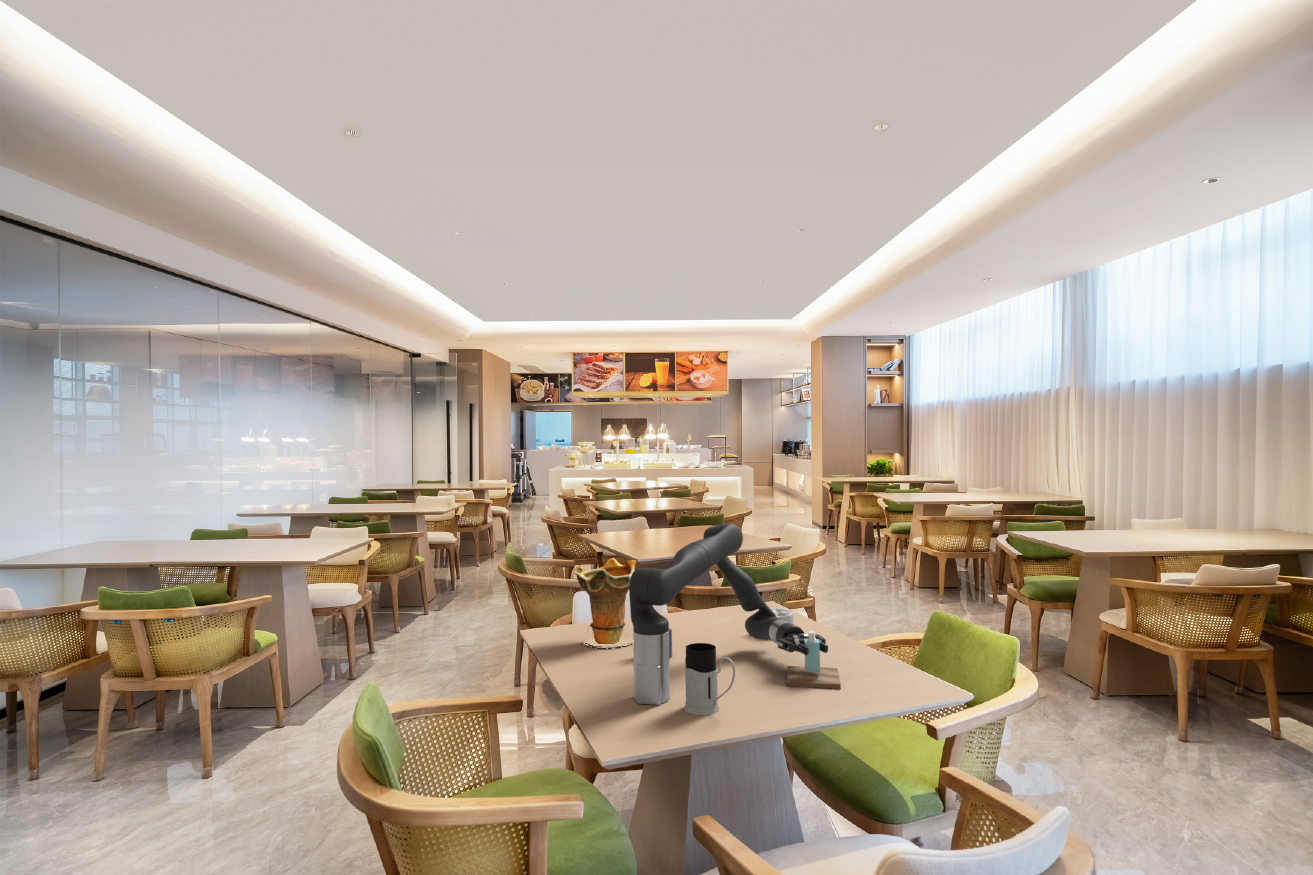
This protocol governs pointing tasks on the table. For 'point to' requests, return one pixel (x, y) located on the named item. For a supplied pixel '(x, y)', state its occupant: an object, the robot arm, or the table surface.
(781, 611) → the lumpy-topped squat cylinder
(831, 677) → the walnut board
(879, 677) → the table surface
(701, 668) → the glass holder
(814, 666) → the teal bottle
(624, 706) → the table surface
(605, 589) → the decorative vase
